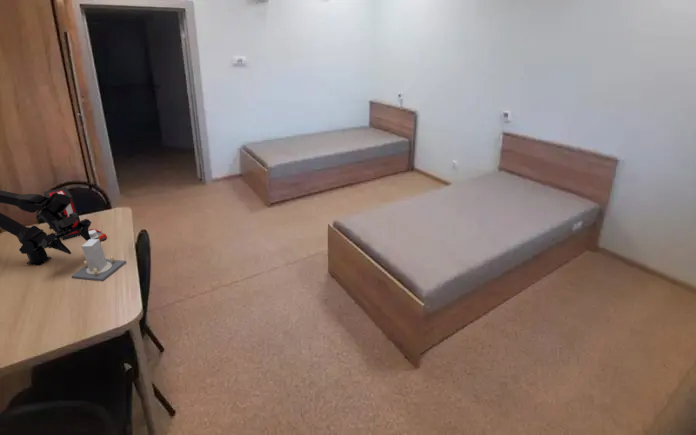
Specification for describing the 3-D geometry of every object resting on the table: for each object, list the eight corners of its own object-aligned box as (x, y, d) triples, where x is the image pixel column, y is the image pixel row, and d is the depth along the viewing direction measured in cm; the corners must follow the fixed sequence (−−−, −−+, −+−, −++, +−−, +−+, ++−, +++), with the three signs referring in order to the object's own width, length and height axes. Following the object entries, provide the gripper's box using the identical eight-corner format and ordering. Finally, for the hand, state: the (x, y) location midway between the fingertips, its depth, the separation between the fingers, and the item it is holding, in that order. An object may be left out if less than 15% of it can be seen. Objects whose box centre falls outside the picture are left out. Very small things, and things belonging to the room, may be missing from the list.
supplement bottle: (96, 251, 179) (91, 235, 176) (87, 250, 180) (82, 234, 176) (104, 246, 183) (99, 230, 180) (95, 245, 184) (90, 229, 181)
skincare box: (96, 264, 167) (89, 238, 162) (107, 263, 168) (99, 238, 162) (89, 271, 162) (80, 246, 157) (100, 271, 162) (92, 245, 157)
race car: (109, 239, 191) (107, 231, 189) (98, 243, 187) (96, 236, 185) (93, 232, 197) (91, 225, 195) (82, 237, 192) (79, 230, 191)
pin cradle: (71, 277, 160) (68, 269, 158) (97, 260, 172) (94, 252, 171) (102, 281, 158) (100, 272, 156) (126, 262, 170) (124, 254, 169)
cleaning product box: (84, 234, 194) (72, 196, 186) (63, 240, 189) (49, 201, 180) (77, 223, 205) (65, 187, 197) (56, 229, 200) (43, 192, 191)
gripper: (36, 218, 151) (64, 249, 152) (82, 200, 166) (107, 229, 167) (29, 233, 157) (57, 262, 158) (74, 215, 172) (99, 242, 173)
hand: (81, 248), depth 164 cm, fingers open, 9 cm apart
